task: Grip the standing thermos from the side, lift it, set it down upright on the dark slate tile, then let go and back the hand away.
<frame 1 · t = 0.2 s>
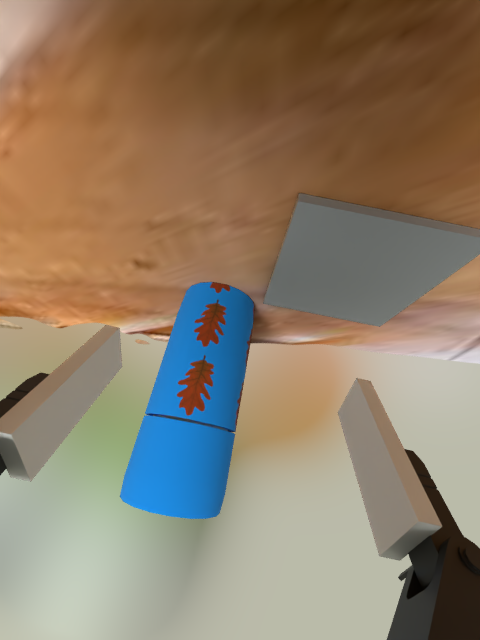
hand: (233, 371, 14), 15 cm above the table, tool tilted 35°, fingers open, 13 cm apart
slate tile: (349, 273, 28), on the table
thermos: (220, 302, 38), on the table
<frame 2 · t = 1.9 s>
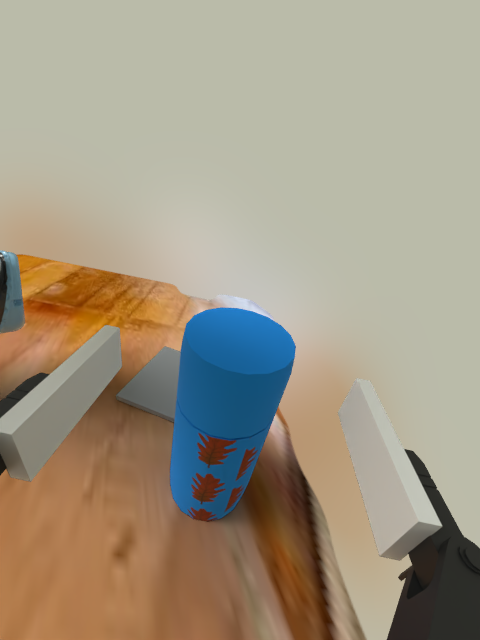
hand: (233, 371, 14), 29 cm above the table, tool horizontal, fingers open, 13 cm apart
slate tile: (179, 384, 50), on the table
thermos: (208, 478, 37), on the table
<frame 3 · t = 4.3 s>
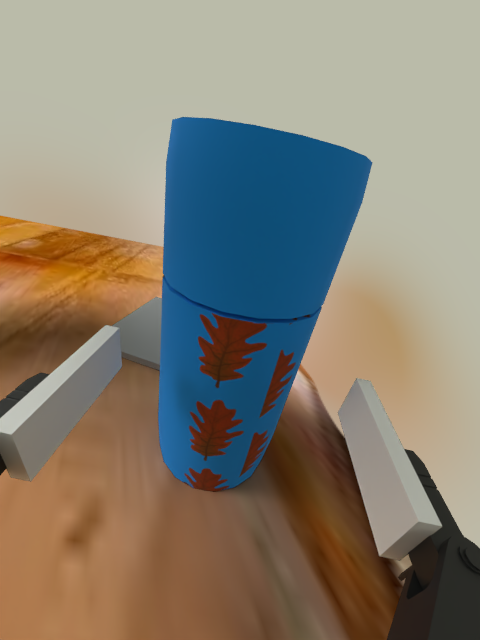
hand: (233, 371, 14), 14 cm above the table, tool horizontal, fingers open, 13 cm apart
slate tile: (173, 334, 40), on the table
thermos: (213, 437, 26), on the table
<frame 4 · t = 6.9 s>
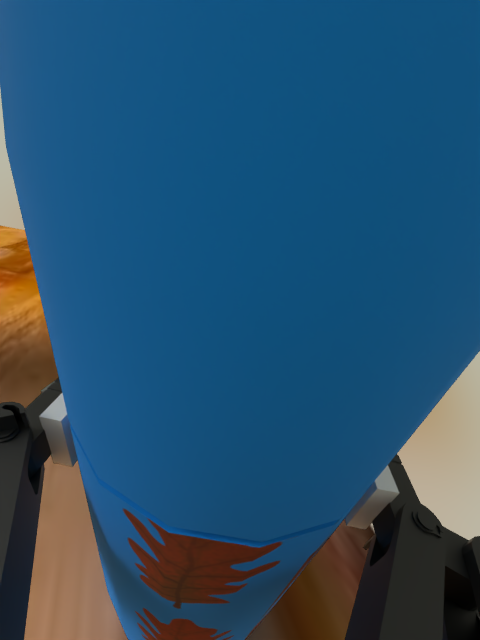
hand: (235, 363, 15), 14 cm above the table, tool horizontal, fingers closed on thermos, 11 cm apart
thermos: (195, 550, 18), on the table, touching gripper
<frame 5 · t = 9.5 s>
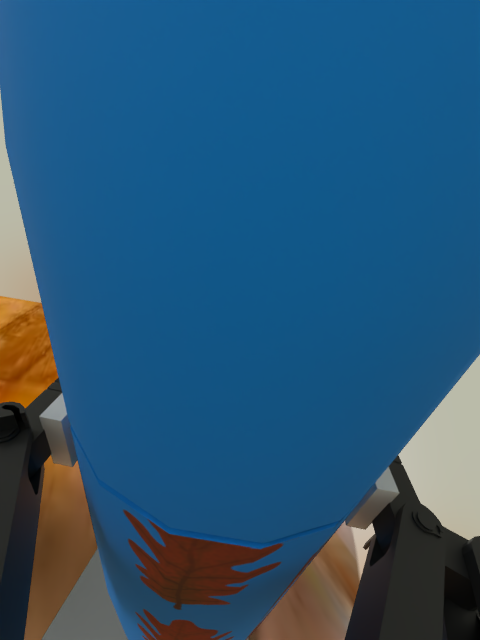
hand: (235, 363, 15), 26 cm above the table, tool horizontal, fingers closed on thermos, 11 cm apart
slate tile: (175, 572, 26), on the table
thermos: (195, 551, 18), point 12 cm above the table, touching gripper
when the fingers open (16 cm above the table, at t = 12.5 s): thermos drops 1 cm, resting on slate tile.
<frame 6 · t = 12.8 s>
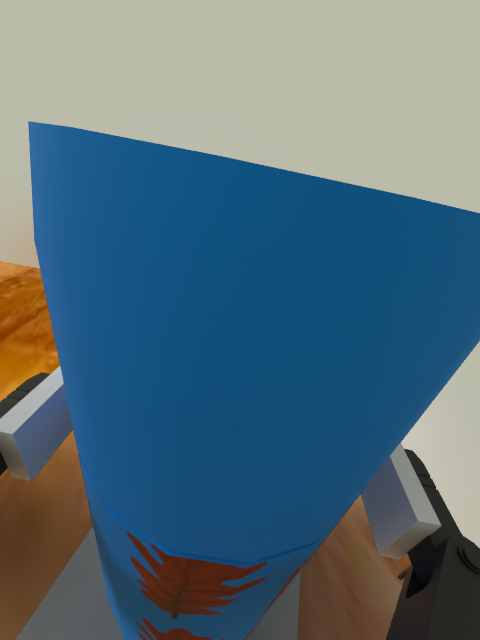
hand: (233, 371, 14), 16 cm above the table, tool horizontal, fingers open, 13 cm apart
slate tile: (192, 562, 19), on the table
thermos: (192, 559, 19), point 1 cm above the table, touching slate tile
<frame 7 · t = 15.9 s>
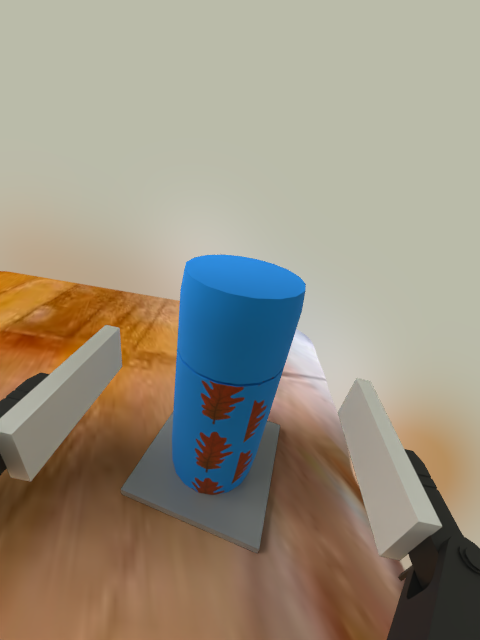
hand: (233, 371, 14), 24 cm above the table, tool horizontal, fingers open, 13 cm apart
slate tile: (212, 456, 34), on the table
thermos: (212, 453, 34), point 1 cm above the table, touching slate tile
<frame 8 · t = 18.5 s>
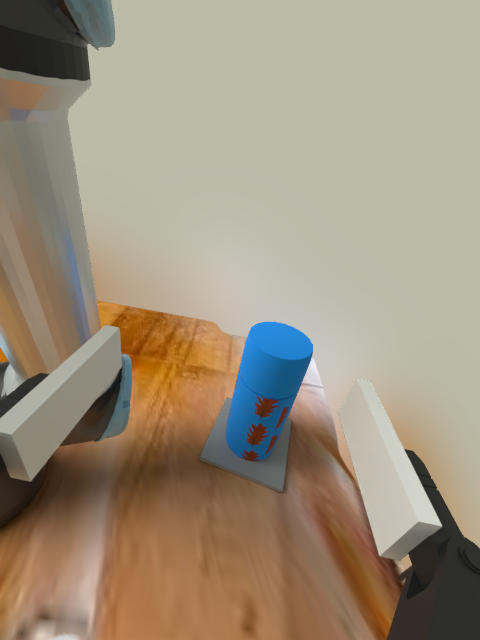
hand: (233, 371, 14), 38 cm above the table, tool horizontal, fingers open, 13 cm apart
slate tile: (249, 439, 54), on the table
thermos: (250, 437, 53), point 1 cm above the table, touching slate tile
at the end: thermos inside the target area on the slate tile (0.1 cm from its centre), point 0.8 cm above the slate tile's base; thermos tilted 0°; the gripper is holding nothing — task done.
